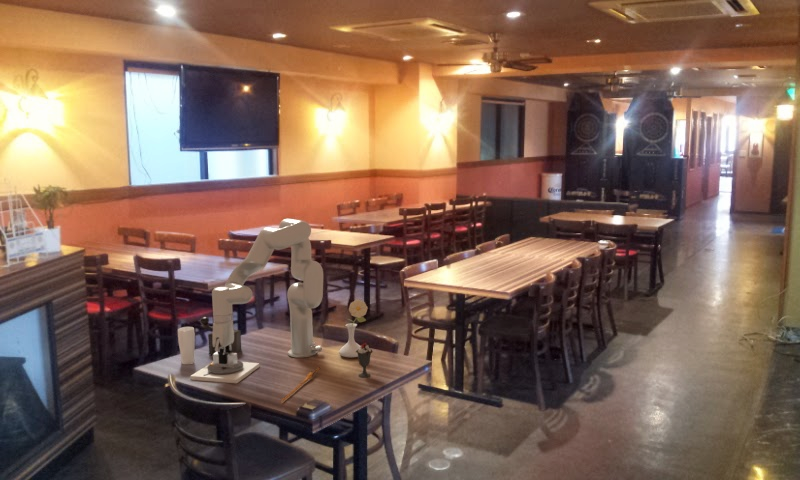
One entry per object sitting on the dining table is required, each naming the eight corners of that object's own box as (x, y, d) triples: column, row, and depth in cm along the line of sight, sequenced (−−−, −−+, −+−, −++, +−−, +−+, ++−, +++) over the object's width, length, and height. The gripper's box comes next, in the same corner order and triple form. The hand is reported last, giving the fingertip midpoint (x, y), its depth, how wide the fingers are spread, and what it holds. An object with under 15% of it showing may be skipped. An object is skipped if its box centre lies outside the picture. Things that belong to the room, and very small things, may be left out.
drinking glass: (191, 366, 286) (189, 331, 284) (176, 365, 288) (174, 330, 286) (199, 360, 293) (197, 326, 291) (184, 360, 294) (182, 326, 292)
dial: (249, 364, 282) (248, 349, 281) (233, 375, 269) (232, 360, 268) (218, 361, 285) (217, 347, 285) (201, 372, 272) (200, 357, 271)
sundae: (360, 379, 268) (359, 342, 266) (353, 374, 274) (352, 338, 272) (375, 376, 271) (375, 339, 269) (368, 371, 277) (367, 335, 275)
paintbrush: (279, 406, 245) (279, 399, 244) (317, 370, 278) (317, 364, 277) (283, 407, 244) (282, 399, 244) (320, 371, 277) (320, 364, 277)
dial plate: (259, 366, 284) (259, 362, 284) (236, 383, 265) (236, 379, 265) (215, 363, 289) (215, 359, 289) (190, 379, 270) (190, 375, 270)
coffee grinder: (221, 347, 311) (219, 309, 308) (242, 350, 307) (240, 311, 304) (199, 358, 297) (197, 317, 294) (221, 360, 293) (218, 320, 290)
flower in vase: (336, 359, 293) (334, 302, 289) (341, 351, 304) (340, 296, 300) (366, 360, 291) (365, 303, 287) (370, 352, 302) (369, 296, 298)
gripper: (224, 312, 283) (226, 355, 285) (204, 322, 267) (206, 368, 270) (241, 313, 281) (243, 356, 284) (221, 323, 265) (223, 369, 268)
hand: (225, 361), depth 277 cm, fingers closed on dial, 3 cm apart
